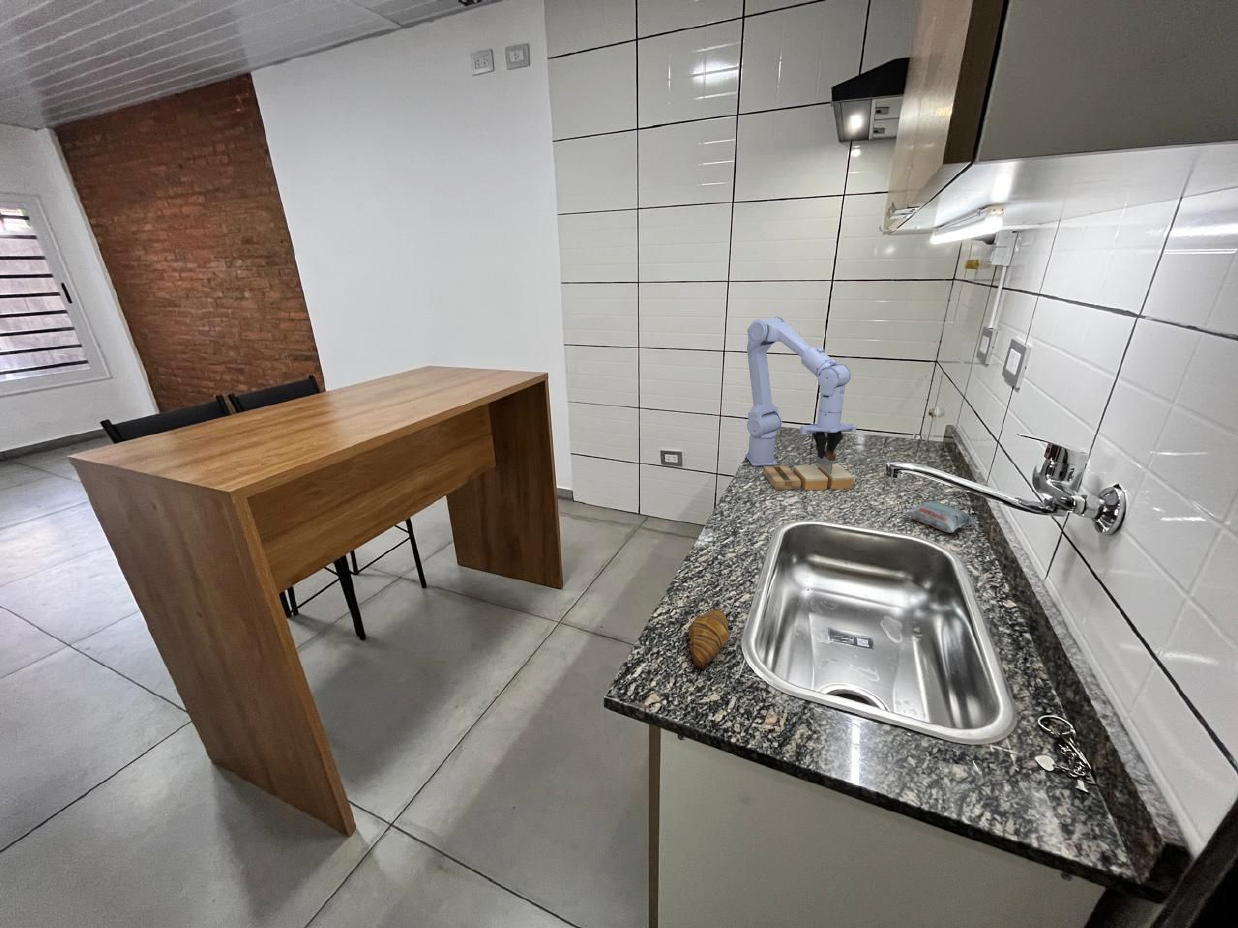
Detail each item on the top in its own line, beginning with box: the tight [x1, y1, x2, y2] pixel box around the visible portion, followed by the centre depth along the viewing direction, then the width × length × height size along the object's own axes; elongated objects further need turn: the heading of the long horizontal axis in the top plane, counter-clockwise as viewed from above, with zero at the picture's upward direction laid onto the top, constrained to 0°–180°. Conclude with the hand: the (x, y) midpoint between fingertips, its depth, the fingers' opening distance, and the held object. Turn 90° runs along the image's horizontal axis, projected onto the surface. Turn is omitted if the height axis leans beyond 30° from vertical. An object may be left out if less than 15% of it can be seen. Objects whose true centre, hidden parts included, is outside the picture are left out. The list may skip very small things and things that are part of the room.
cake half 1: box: [792, 464, 828, 491], centre depth 138 cm, size 10×6×4 cm, turn 1°
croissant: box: [688, 609, 731, 670], centre depth 79 cm, size 14×7×5 cm, turn 155°
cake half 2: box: [817, 463, 855, 490], centre depth 137 cm, size 10×6×4 cm, turn 1°
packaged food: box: [902, 500, 976, 534], centre depth 112 cm, size 9×12×5 cm
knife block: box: [762, 464, 802, 491], centre depth 140 cm, size 12×7×2 cm, turn 1°
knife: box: [814, 444, 837, 475], centre depth 135 cm, size 10×2×6 cm, turn 1°
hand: (824, 457), depth 135 cm, fingers closed on knife, 1 cm apart
